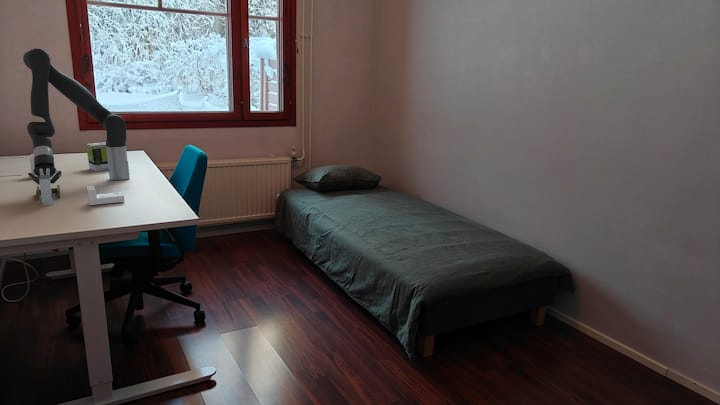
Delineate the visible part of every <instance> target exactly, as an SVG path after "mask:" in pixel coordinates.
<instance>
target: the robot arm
mask: <svg viewBox="0 0 720 405" xmlns="http://www.w3.org/2000/svg"><path fill="white" fill-rule="evenodd" d="M22 59H23V64H24V65H25V66H26V68H28V69H29V70H31V75H32V76H31V77H32V80H31V81H32V82H31V90H30V113H31V115H32V116H34V117H37V118H41V119H43V120H44V121H29V123H28V124H27V125H26V126H27V127H26V129H27V133H28V135H29V137H30V139H31V141H32V145H33V146H32V147H33V153H32V154H33V156H34V170H33V172H32V173H31V172H28V173H27V175H28V178H29V179H30V180H31V181H33V182H34V183H36V185H37V186H38V185H39V186H40V183H39V178H40V175H50V181H51V185H52V184H55V183H56V182H57V181H58V180H59V179H60V178H61V177H62V176H63V173H62V171H61V170H57V168H56V166H55V158H54V152H53V145H52V140H51V139H50V138H52V137H54V135H55V133H56V131H55V126H54V124H53V121H52V118H51V114H50V100H49V98H50V97H49V84H50V85H52V86H53V87H54V88H55V89H56V90H57V91H58V92H60V93H61V94H62V95H63V96H64V97H65V98H67V99H68V100H69V101H70V102H71V103H73V104H74V105H75V106H77V107H78V108H80V109H81V110H82V111H83V112H86V113H87V114H88V115H89V116H91V117H93V119H94V120H96V121H97V123H98V124H100V125H101V127H102V128H103V129H104V130H105V131H106V140H105V142H106V150H107V159H108V168H109V170H108V176H109V180H111V181H124V180H130V178H131V177H130V169H129V168H130V167H129V160H128V152H127V127H126V126H127V125H126V121H125V119H124V118H123V117H122V116H120V115H118V114H115V113H113V112H112V111H110V110H109V109H107V108H106V107H105V106H103V105H102V104H101V103H100V102H99V100H98V99H97V98H96V97H95V96H94V95H93V94H92V92H90V91H89V89H87V88H86V87H85V86H84V85H82V84H81V83H80V82H79V81H78V80H75V79H74V78H73V77H70V76H69V75H67V74H65V73H63V72H62V71H60V70H59V69H58V68H56V67H55V66H54V65H53V64H52V63H51V61H52V60H51V56H50V54H49V53H48V52H47V51H46V50H45V49H42V48H32V49H30V50H28V51H27V52H25V53H24V54H23V57H22ZM35 174H36V175H37V176H38V177H36V176H35ZM54 174H55V175H54ZM53 175H54V176H53Z"/></svg>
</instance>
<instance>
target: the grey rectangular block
mask: <svg viewBox="0 0 720 405" xmlns="http://www.w3.org/2000/svg"><path fill="white" fill-rule="evenodd" d="M38 179H39V183H40V185H39V189H40V190H41V196H42V200H41V202H42V206H43V207H44V206H53V204H54V199H53V195H52V184H51V181H50V180H51V178H50V175H40V178H39V177H38Z"/></svg>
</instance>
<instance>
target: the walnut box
mask: <svg viewBox="0 0 720 405" xmlns="http://www.w3.org/2000/svg"><path fill="white" fill-rule="evenodd" d="M56 186H57V187H53V188H52V187H51V188H52V195H53V200H57V199H58V200H59V199H61V188H60V186H61V185H60V184H57V185H56ZM35 191H36V192H35V195H36V201H42V196H41V190H40V185H39V186H38V185H37V186H36V190H35Z"/></svg>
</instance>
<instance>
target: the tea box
mask: <svg viewBox="0 0 720 405" xmlns="http://www.w3.org/2000/svg"><path fill="white" fill-rule="evenodd" d="M85 146H86V147H85V148H86V152H87V153H86V154H87V160H88V166H89V169H90V170H91V171H94V172H101V171H109V168H108V159H107V150H106V141H103V142H95V143H86V144H85Z"/></svg>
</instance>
